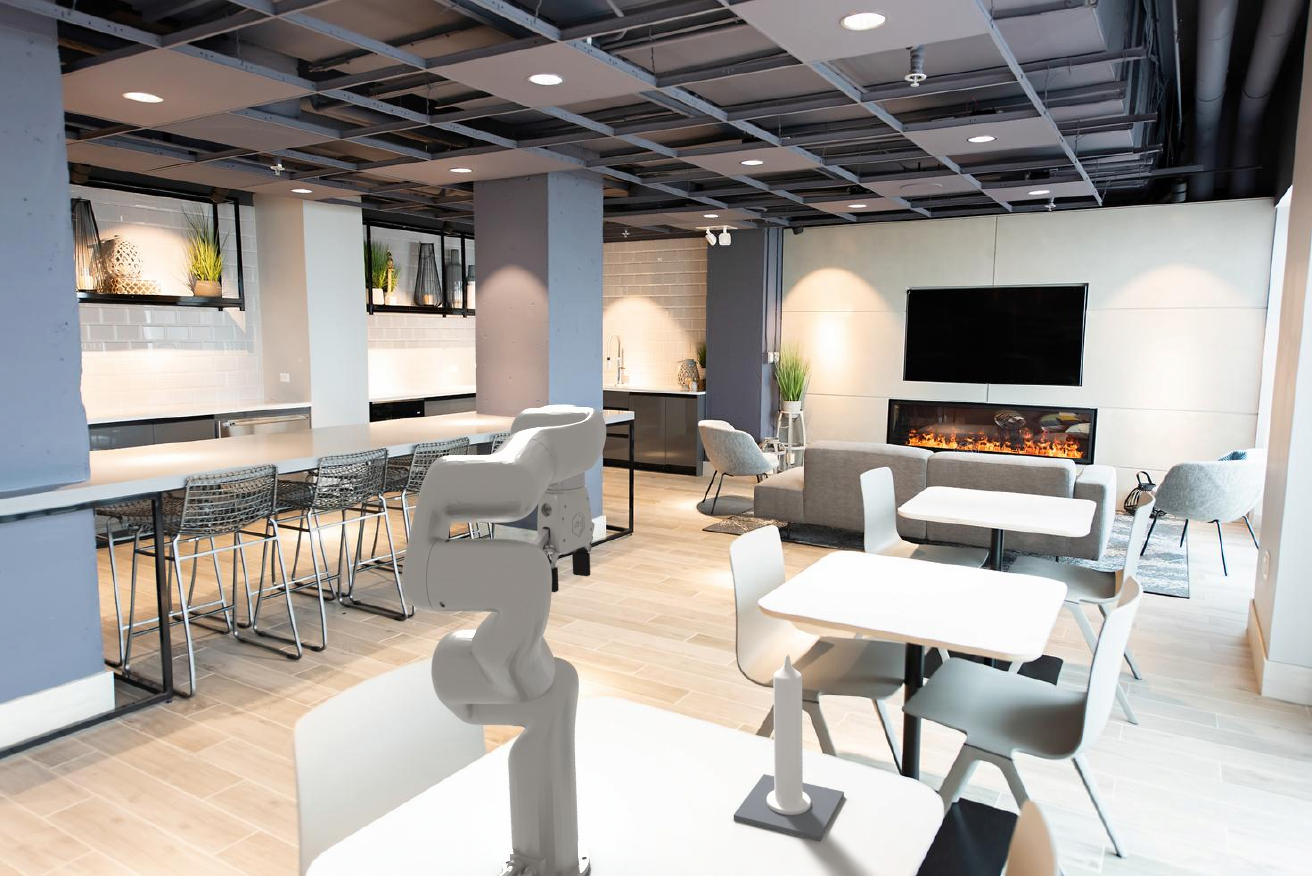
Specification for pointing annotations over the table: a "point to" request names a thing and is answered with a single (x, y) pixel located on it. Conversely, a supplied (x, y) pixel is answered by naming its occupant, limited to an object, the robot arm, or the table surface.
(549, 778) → the robot arm
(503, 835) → the table surface
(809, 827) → the mat
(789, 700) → the candle
